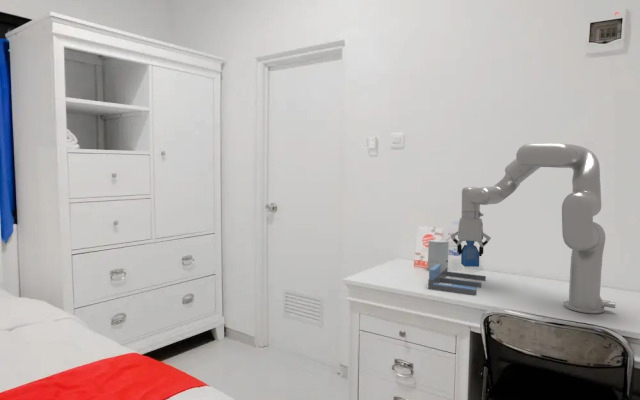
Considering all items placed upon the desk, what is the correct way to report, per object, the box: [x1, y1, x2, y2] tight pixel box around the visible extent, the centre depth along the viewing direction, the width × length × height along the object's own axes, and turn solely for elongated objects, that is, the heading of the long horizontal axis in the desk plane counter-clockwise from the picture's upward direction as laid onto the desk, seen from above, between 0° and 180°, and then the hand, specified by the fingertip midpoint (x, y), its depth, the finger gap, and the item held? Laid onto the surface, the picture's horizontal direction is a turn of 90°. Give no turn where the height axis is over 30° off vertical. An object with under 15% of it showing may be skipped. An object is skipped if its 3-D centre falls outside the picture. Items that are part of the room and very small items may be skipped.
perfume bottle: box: [460, 241, 480, 268], centre depth 189 cm, size 6×6×12 cm
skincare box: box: [427, 239, 449, 271], centre depth 211 cm, size 8×6×15 cm
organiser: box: [427, 264, 487, 296], centre depth 186 cm, size 19×27×8 cm
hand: (470, 254), depth 189 cm, fingers closed on perfume bottle, 8 cm apart
